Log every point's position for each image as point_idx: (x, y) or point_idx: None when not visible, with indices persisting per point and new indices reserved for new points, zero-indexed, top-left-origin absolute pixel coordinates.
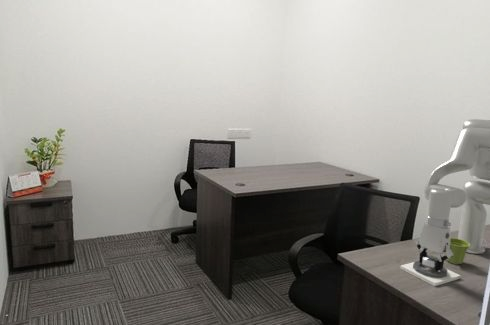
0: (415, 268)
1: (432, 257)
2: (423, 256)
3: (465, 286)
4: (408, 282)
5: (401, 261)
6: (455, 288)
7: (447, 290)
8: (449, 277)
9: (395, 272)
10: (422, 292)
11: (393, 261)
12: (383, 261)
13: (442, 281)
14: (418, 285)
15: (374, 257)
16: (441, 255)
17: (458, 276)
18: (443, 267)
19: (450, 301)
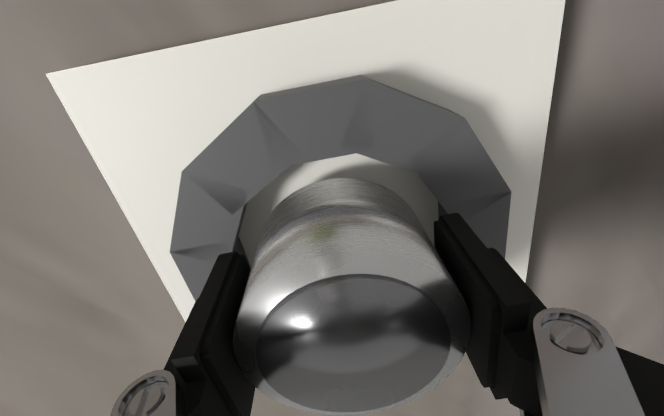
0: None
1: (342, 334)
2: (271, 391)
3: (657, 88)
4: (402, 406)
5: (94, 293)
6: (608, 209)
7: (583, 283)
8: (522, 165)
9: (277, 405)
10: (510, 404)
11: (103, 343)
12: (111, 394)
13: (523, 269)
14: (449, 384)
15: (46, 410)
16: (543, 405)
17: (558, 18)
18: (387, 104)
19: (653, 347)
